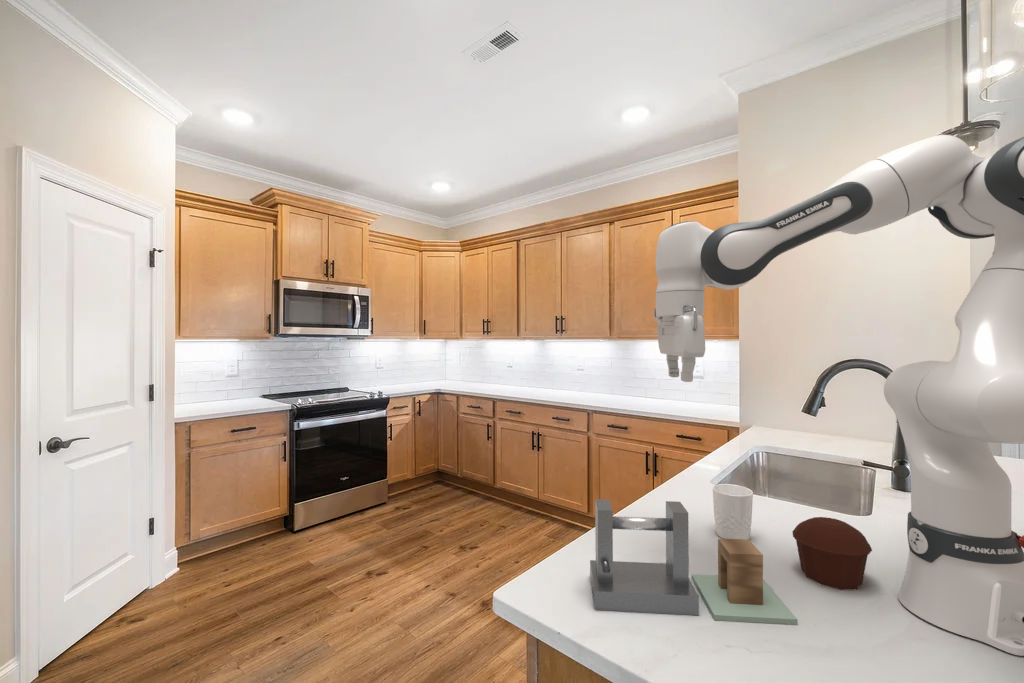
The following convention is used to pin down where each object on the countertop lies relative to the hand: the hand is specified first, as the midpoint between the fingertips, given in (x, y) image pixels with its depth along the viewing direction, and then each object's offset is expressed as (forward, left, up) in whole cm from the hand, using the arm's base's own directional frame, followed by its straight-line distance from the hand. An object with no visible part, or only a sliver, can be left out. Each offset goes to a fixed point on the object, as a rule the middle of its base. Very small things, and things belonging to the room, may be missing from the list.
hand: (679, 379), depth 88 cm
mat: (-6, +13, -35) cm, 38 cm away
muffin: (-25, +4, -35) cm, 43 cm away
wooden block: (-6, +13, -34) cm, 37 cm away
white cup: (-14, -12, -35) cm, 40 cm away
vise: (+10, +13, -35) cm, 39 cm away
